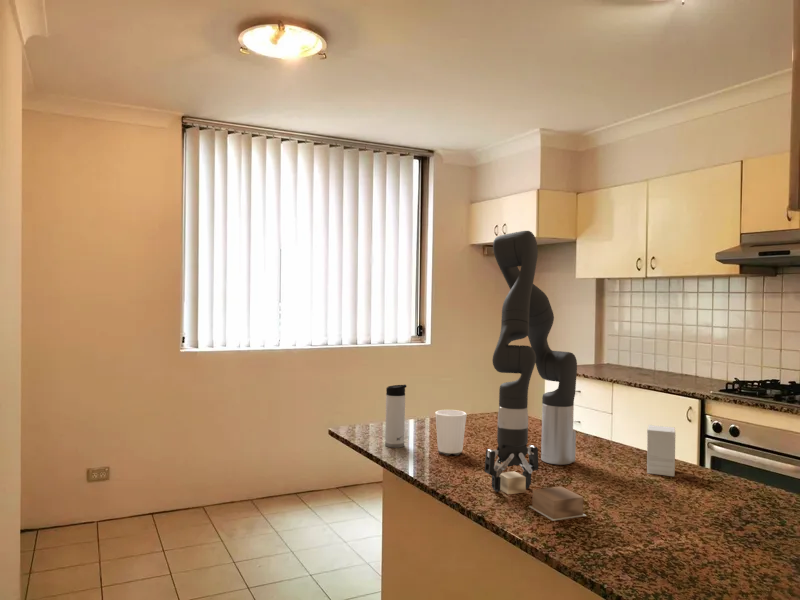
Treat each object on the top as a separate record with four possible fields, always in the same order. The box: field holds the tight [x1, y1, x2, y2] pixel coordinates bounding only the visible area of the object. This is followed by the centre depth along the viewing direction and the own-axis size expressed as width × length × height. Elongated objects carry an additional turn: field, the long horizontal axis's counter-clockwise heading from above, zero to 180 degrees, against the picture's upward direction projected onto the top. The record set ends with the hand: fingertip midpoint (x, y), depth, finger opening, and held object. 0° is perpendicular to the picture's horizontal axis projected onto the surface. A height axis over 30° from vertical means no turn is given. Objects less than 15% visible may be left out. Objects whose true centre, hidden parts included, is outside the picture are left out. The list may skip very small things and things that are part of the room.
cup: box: [434, 409, 467, 457], centre depth 190 cm, size 10×10×13 cm
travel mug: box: [384, 384, 407, 449], centre depth 198 cm, size 6×7×20 cm
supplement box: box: [646, 424, 676, 477], centre depth 174 cm, size 7×7×13 cm
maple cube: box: [499, 471, 527, 495], centre depth 152 cm, size 5×5×5 cm
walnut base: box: [531, 485, 584, 519], centre depth 138 cm, size 8×8×4 cm
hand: (511, 489), depth 152 cm, fingers open, 8 cm apart
